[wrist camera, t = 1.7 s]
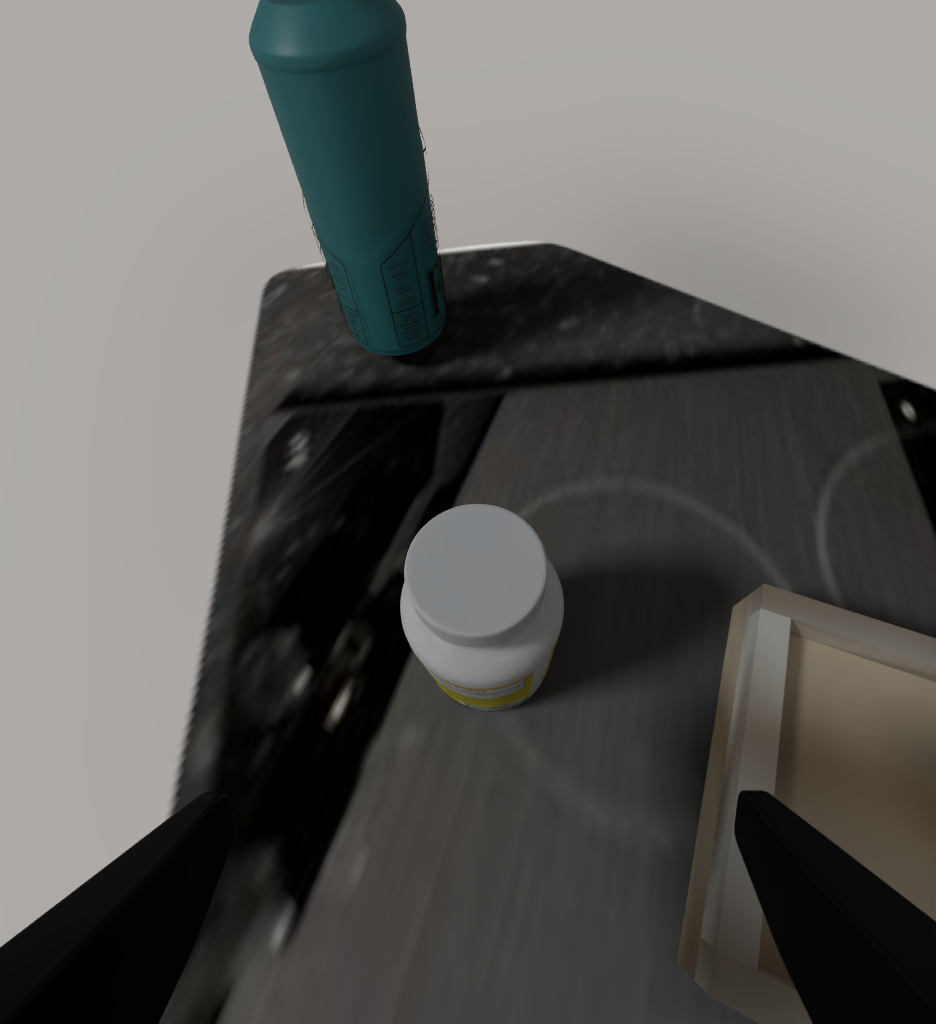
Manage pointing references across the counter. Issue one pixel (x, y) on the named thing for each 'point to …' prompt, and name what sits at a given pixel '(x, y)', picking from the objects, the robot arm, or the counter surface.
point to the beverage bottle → (357, 159)
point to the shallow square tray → (810, 777)
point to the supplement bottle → (482, 606)
